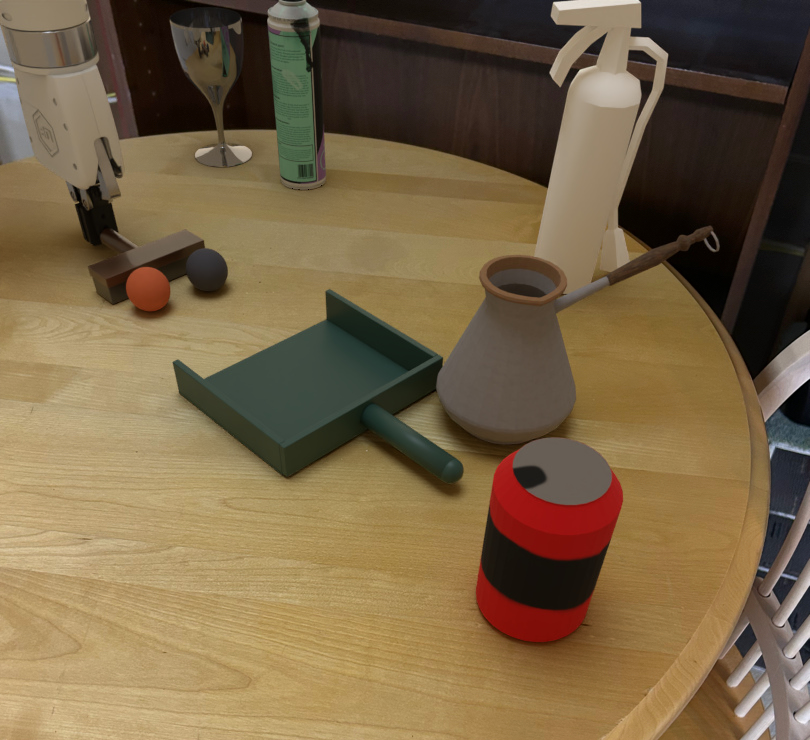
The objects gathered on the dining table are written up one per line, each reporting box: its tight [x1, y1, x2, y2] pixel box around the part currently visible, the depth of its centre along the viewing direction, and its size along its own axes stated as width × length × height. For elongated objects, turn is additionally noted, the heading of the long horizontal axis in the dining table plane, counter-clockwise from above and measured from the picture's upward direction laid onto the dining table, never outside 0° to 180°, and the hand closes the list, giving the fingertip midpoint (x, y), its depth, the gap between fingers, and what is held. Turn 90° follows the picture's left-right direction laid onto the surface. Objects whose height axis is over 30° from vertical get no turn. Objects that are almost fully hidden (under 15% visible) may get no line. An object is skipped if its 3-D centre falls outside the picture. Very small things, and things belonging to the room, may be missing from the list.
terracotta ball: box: [126, 267, 172, 312], centre depth 76 cm, size 4×4×4 cm
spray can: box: [267, 0, 327, 191], centre depth 90 cm, size 6×6×20 cm
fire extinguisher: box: [533, 0, 669, 295], centre depth 74 cm, size 7×12×25 cm, turn 95°
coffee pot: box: [435, 225, 720, 446], centre depth 63 cm, size 21×12×15 cm, turn 107°
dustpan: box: [172, 288, 465, 485], centre depth 66 cm, size 25×17×3 cm
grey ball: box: [185, 247, 229, 292], centre depth 78 cm, size 4×4×4 cm
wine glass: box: [169, 6, 253, 168], centre depth 96 cm, size 8×8×15 cm
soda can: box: [475, 437, 624, 643], centre depth 50 cm, size 8×8×12 cm
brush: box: [87, 228, 206, 305], centre depth 81 cm, size 9×11×3 cm
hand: (102, 238), depth 85 cm, fingers closed
